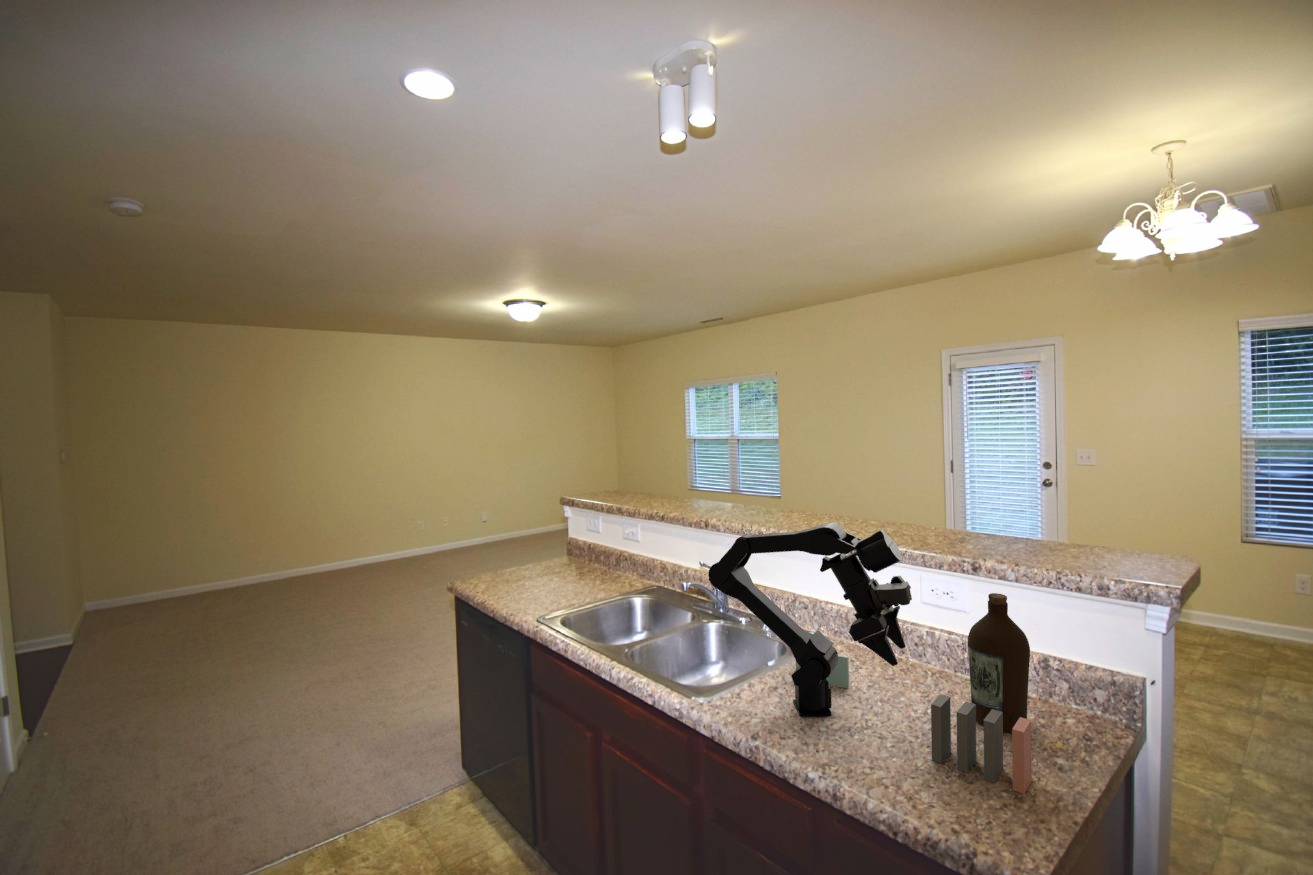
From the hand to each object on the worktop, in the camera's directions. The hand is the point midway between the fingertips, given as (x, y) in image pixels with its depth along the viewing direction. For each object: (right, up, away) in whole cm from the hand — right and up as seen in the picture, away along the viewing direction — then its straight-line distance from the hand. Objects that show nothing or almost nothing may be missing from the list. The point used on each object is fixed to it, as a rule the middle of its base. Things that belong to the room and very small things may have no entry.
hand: (899, 656), depth 113 cm
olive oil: (+21, -14, +3) cm, 25 cm away
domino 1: (+4, -15, -8) cm, 17 cm away
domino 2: (+7, -15, -11) cm, 20 cm away
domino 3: (+10, -15, -14) cm, 23 cm away
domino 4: (+13, -15, -17) cm, 26 cm away
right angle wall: (-6, -15, +26) cm, 31 cm away
